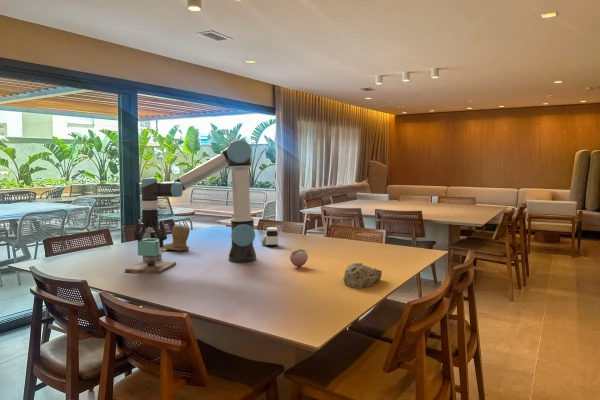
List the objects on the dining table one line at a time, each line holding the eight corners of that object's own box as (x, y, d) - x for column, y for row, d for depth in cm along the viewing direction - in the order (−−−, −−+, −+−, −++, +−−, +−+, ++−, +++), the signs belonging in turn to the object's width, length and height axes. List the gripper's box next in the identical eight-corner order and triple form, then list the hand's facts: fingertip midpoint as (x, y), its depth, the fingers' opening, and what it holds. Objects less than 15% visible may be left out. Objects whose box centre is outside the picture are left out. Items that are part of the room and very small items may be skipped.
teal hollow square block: (163, 252, 216) (163, 238, 215) (155, 256, 207) (154, 242, 206) (146, 251, 217) (146, 238, 216) (137, 255, 208) (137, 241, 207)
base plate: (176, 264, 220) (176, 261, 220) (160, 273, 202) (160, 270, 202) (143, 263, 223) (143, 260, 222) (125, 272, 205) (125, 269, 205)
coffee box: (153, 262, 225) (152, 232, 224) (142, 261, 227) (141, 232, 225) (162, 258, 234) (161, 230, 233) (151, 258, 235) (150, 229, 234)
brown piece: (194, 249, 261) (193, 225, 260) (181, 252, 250) (180, 227, 249) (174, 247, 267) (174, 223, 266) (161, 250, 256) (160, 226, 255)
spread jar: (277, 247, 267) (277, 229, 266) (259, 247, 267) (259, 229, 266) (278, 244, 279) (278, 226, 278) (261, 243, 279) (261, 226, 278)
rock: (352, 277, 201) (358, 257, 200) (381, 288, 194) (387, 267, 193) (335, 283, 183) (342, 261, 182) (366, 295, 176) (373, 273, 175)
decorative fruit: (299, 264, 221) (299, 245, 221) (310, 267, 216) (310, 247, 215) (286, 267, 215) (286, 248, 214) (297, 270, 209) (297, 250, 208)
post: (157, 267, 214) (156, 246, 213) (153, 269, 210) (152, 247, 209) (149, 267, 215) (149, 245, 214) (145, 269, 211) (145, 247, 210)
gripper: (173, 208, 212) (174, 252, 214) (133, 207, 215) (134, 251, 217) (167, 210, 205) (168, 255, 207) (125, 209, 208) (126, 254, 210)
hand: (150, 253), depth 212 cm, fingers closed on teal hollow square block, 9 cm apart
